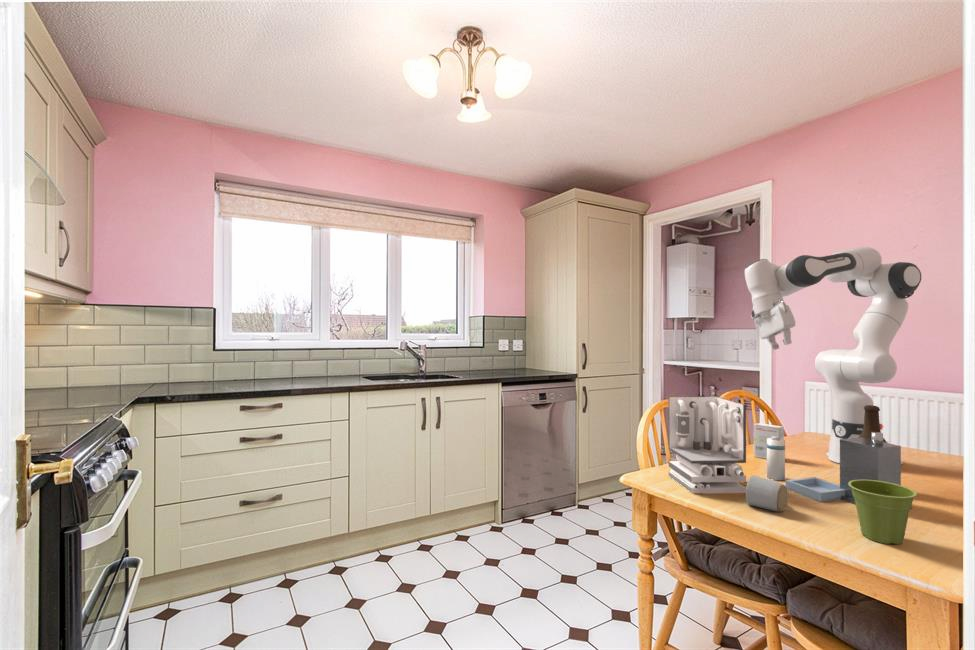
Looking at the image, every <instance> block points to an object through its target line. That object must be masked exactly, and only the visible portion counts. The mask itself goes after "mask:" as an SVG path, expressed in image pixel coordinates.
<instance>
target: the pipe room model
mask: <svg viewBox="0 0 975 650" xmlns="http://www.w3.org/2000/svg"><path fill="white" fill-rule="evenodd" d="M668 451H671V452H672V453H674V454H675V455H676V456H675V457H676V460H674V461H673V460H670V461H668V467H669V468H670V471H668V477H669V476H670V477H671V478H670V477H669V478H670V479H672V478H673V479H674V480H675V482H676V481H677V482H678V483H679V484H678V483H677V482H676V483H677V484H678V485H680V484H681V485H682V486H683V487H685V488H686V489H687V490H689V491H690V492H691V493H703V494H746V486H744V485H743V484H740V483H742V482H743V483H746V482H747V476H746V475H745V473H744V470H743V468H742V465H740V464H746V463H747V404H745V403H741V402H738V401H734V400H731V399H726V398H724V397H721V396H668ZM673 479H672V480H673ZM674 480H673V481H674ZM681 485H680V486H681ZM682 486H681V487H682ZM683 487H682V488H683ZM685 488H684V489H685ZM686 489H685V490H686ZM687 490H686V491H687ZM689 491H688V492H689ZM690 492H689V493H690ZM691 493H690V494H691Z"/></svg>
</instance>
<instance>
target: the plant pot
mask: <svg viewBox="0 0 975 650" xmlns="http://www.w3.org/2000/svg"><path fill="white" fill-rule="evenodd" d="M848 485H849V486H850V487H851V489H852V493H853V497H854V498H855V503H856V505H855V507H856V512H857V517H858V523H859V526H860V531H861V534H862V535H863V536H865V538H867V539H869V540H871V541H873V542H878V543H880V544H886V545H887V544H888V545H889V544H894V545H900V544H901V545H902V544H903V543H904V540H905V534H906V530H907V524H908V519H909V515H910V510H911V509H910V507H911V508H912V505H913V503H914V502H913V501H914V498H916V497H918V496H917V495H918V494H917V492H916V491H915V490H913V489H912V488H909V487H906V486H904V485H902V484H901V485H897V484H893V483H889V482H883V481H877V480H852V481H849V482H848Z"/></svg>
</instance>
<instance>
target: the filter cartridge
mask: <svg viewBox="0 0 975 650" xmlns="http://www.w3.org/2000/svg"><path fill="white" fill-rule="evenodd" d="M768 478H769V479H768ZM766 479H768V480H771V479H773V480H772V481H776V480H784V481H786V440H785V439H784V440H783V439H780V437H777V436H771V438H767V459H766Z"/></svg>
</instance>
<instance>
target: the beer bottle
mask: <svg viewBox="0 0 975 650" xmlns="http://www.w3.org/2000/svg"><path fill="white" fill-rule="evenodd" d="M864 410H865V415H864V428H863V432H862V433H861V435H860V436H859V437H858V438H861V437H862V438H866V439H871V432H880V433H882V432H881V431H882V430H880V424H881V423H880V413H879V412H880V411H881V409H880V407H879V406H877V405H874V404H873V405H866V406H864ZM886 441H887V440H886V439H885V438H884V437H883V442H885V443H887V442H888V441H887V442H886Z"/></svg>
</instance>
